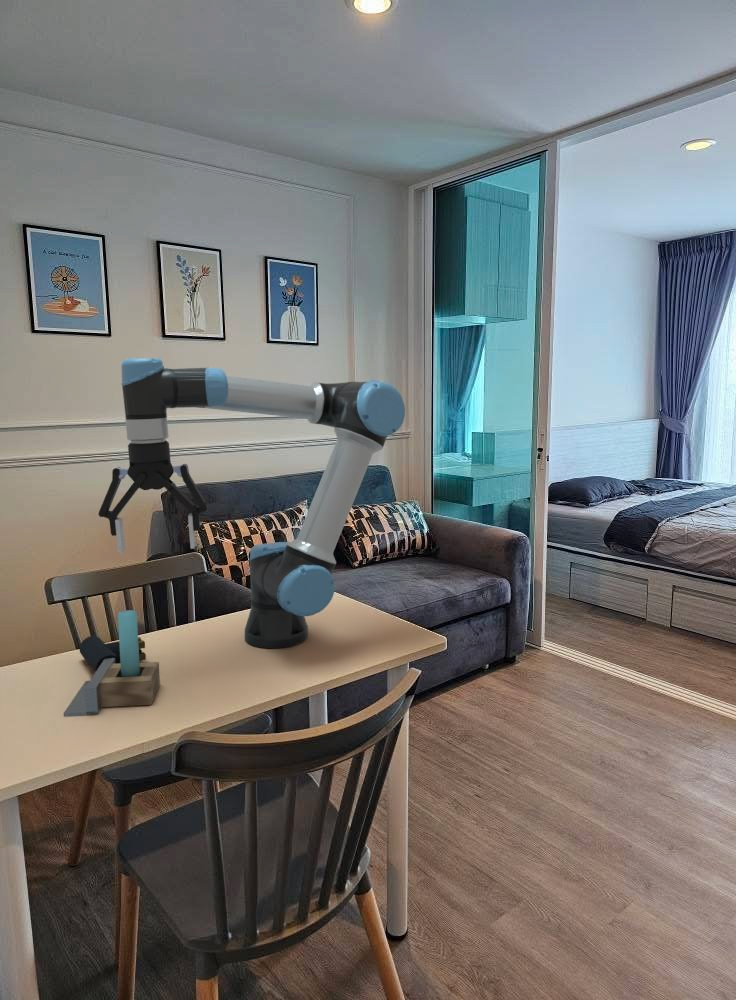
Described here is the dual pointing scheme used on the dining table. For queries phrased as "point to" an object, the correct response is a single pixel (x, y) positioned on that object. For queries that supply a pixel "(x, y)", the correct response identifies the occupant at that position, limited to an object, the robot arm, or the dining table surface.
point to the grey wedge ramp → (89, 693)
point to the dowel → (128, 643)
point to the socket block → (130, 686)
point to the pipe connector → (104, 651)
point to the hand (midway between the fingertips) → (157, 549)
